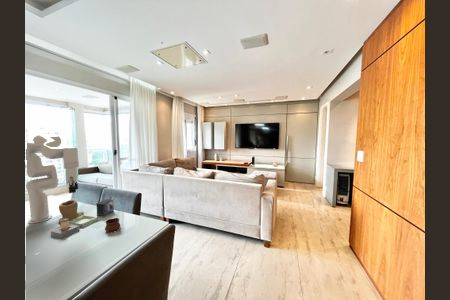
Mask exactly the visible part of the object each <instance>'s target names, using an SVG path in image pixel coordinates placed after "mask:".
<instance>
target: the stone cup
mask: <svg viewBox="0 0 450 300" xmlns="http://www.w3.org/2000/svg"><path fill="white" fill-rule="evenodd" d="M78 208H79V204H78V202H77V200H75V199H70V200H66V201H63V202H61V203H60V204H59V205H58V210H59V213H60V214H61V216H62V217H60V218H59V219H58V223H60V224H61V222H60V220H62V219H66V218H68V219H69V221H71V220H73V219H75V218H78V217H80V216H83V215H85V212H84V211H80V212H78Z"/></svg>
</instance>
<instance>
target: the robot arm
mask: <svg viewBox="0 0 450 300" xmlns="http://www.w3.org/2000/svg"><path fill="white" fill-rule="evenodd" d="M26 142H27V149H26V160H27V171H26V175H27V176H28V177H29V178H31V180H29V181H27V183H26V184H25V188H26V191H27V194H28V195H27V196H28V203H29V211H30V215H29V216H30V219H28V220H27V223H28V222H29V223H28V224H39V223H42V222H46V221H47V220H50V219H52V217H53V216H52V214H50V213H49V212H50V211H49V201H48V195H47V194H46V193H45V192H44V191H47V190H51V189H56V188H57V187H58V185H59V179H58V173H57V167H56V166H55V165H54V164H53V163H43V162H42V161H43V160H42V157H40V156H39V155H38V154H41V155H42V156H43V157H45V158H47V159H49V160H57V159H58V160H59V159H62V160H63V161H62V163H63V168H64V169H65V182H66V185H68V193H69V194H74V193H76V191H77V190H79V183H78V181H79V176H78V168H79V167H80V163H79V152H78V147H77V146H76V147H75V146H60V145H61V144H62V139H61V137H60V136H58V135H57V134H38V135H36V136H34V137H33V139H32V141H26ZM39 177H42V178H39ZM33 178H34V179H33ZM35 178H36V179H35Z"/></svg>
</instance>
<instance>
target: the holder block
mask: <svg viewBox="0 0 450 300" xmlns="http://www.w3.org/2000/svg"><path fill="white" fill-rule="evenodd" d="M78 231H80V227H79V226H77V225H71V224H69V229H67V230H65V231H61V226H60V227H57V229H54V230H51V231H50V236H51V237H53V238H59V239H63V238H66V237H68V236H70V235H72V234H74V233H77V232H78Z"/></svg>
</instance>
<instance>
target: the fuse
mask: <svg viewBox="0 0 450 300" xmlns="http://www.w3.org/2000/svg"><path fill="white" fill-rule="evenodd" d="M60 222H61V223H60ZM60 222H59V223H60V227H61V231H65V230H67V229H69V219H68V218H66V219H62V220H60Z"/></svg>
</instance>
